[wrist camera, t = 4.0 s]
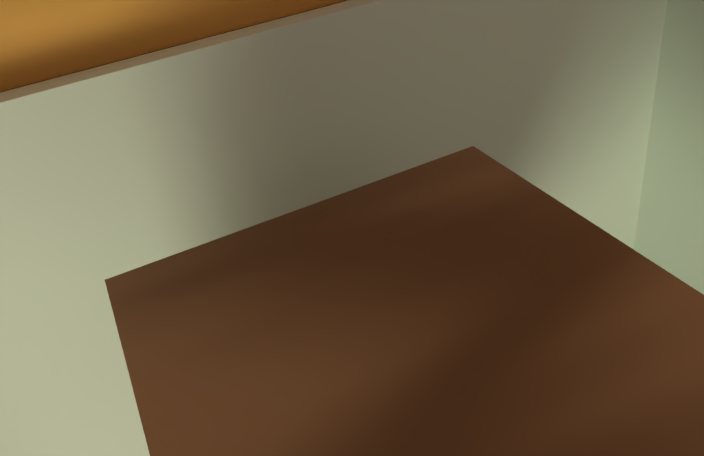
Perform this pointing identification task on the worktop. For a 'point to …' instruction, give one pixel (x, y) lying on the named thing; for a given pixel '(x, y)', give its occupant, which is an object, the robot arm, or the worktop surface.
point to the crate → (320, 160)
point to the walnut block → (416, 330)
